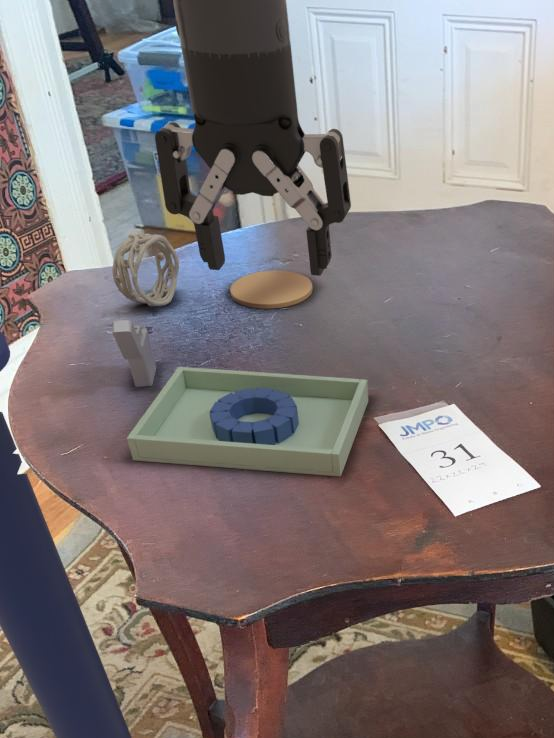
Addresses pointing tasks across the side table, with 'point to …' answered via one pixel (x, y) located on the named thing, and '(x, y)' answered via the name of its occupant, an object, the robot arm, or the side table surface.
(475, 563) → the side table surface
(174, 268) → the bracelet
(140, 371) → the gray letter y
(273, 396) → the ring
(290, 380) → the tray
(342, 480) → the side table surface
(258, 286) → the coaster
